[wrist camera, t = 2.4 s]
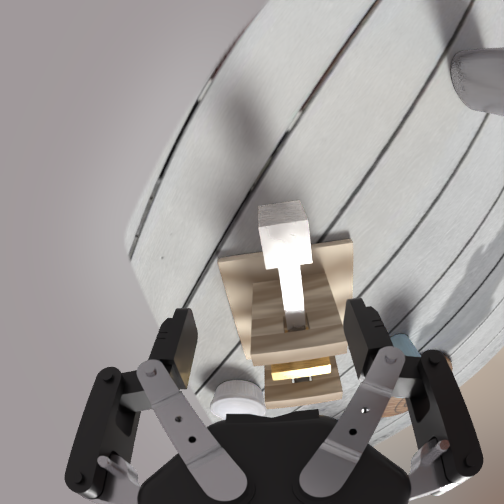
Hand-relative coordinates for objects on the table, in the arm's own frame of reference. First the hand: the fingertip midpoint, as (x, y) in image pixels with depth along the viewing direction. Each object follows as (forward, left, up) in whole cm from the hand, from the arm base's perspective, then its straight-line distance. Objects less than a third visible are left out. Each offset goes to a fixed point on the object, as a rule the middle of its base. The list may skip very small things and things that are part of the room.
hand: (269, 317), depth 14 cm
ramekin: (+11, +40, -23) cm, 48 cm away
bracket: (-2, +18, -22) cm, 29 cm away
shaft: (-2, +12, -15) cm, 19 cm away
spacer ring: (-2, +18, -13) cm, 22 cm away
